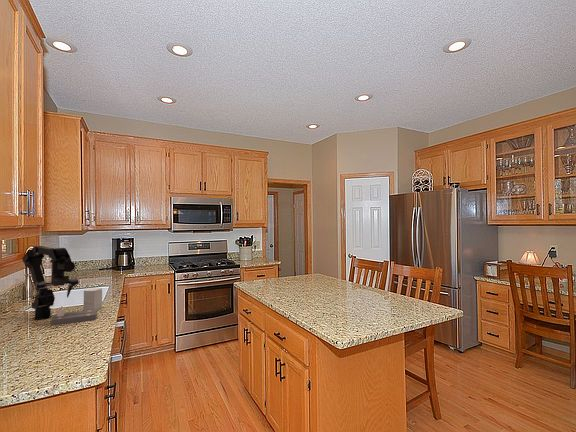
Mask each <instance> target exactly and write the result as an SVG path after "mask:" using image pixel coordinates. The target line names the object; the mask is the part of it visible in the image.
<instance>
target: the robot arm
mask: <svg viewBox="0 0 576 432" xmlns="http://www.w3.org/2000/svg"><path fill="white" fill-rule="evenodd" d="M45 256H48V258H49V259H51V260H50V261H49V262H50V263H51V281H49V282H48V281H47V282H46V281H45V277H44V274H43V269H42V267H41V266H42V264H43V259H44V258H45ZM21 260H22V262H23V263H24V266H25V268H27V269H29V271H30V273H31V278H32V280H33V284H34V287H35V291H36V293H35V295H34V300H33V302H32V303H31V309H34V318H33V320H34V321H38V320H45V319H49V318H50V317H51V316H52V308H51V307H52V306H54V304H55V300H56V299H55V298H56V297H55V294H54V290H52V289H49V288H48V287H49V286H54V287H57V286H59V287H60V286H65V285H67V290H66V291H67V292H66V298H67V299H68V298H69V296H70V294H71V291H72V290H73V288H74V287H76V286H77V285H79V282H80V281H79V279H78V278H77V277H75V278H70V276H69V275H65V273H66V272H67V273H71V272H73V271H74V270H75V268H76V264H75V263H74V262H73V261H72V259H71V255H70V254H69V252H68V249H67V248H66V247H56V248H55V247H48V246H44V245H36V246H33V247H32V248H31V249H30V250H28V251H26V252H25V253H24V255H23V256H22V259H21Z"/></svg>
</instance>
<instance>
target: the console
mask: <svg viewBox="0 0 576 432" xmlns="http://www.w3.org/2000/svg"><path fill="white" fill-rule="evenodd" d="M97 315H98V310H88V311H84V310H83V311H82V310H80V311H71V312H65V315H64V316H62V317H57V313H55V314H54V316H53V317H52V318H51V320H50V326H58V325H59V326H60V325H67V324H74V323H75V324H76V323H81V322H82V323H84V322H91V321H96V319H97Z"/></svg>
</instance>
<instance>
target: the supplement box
mask: <svg viewBox="0 0 576 432" xmlns="http://www.w3.org/2000/svg"><path fill="white" fill-rule="evenodd" d="M101 309H103V288H94V287H93V288H92V287H91V288H89V289H85V290H83V311H88V310H97V311H98V310H101Z"/></svg>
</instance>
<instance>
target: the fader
mask: <svg viewBox="0 0 576 432" xmlns="http://www.w3.org/2000/svg"><path fill="white" fill-rule="evenodd" d="M65 313H66V307H65V306H60V307H58V308H57V310H56V314H57V317H62V316H64V315H65Z"/></svg>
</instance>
